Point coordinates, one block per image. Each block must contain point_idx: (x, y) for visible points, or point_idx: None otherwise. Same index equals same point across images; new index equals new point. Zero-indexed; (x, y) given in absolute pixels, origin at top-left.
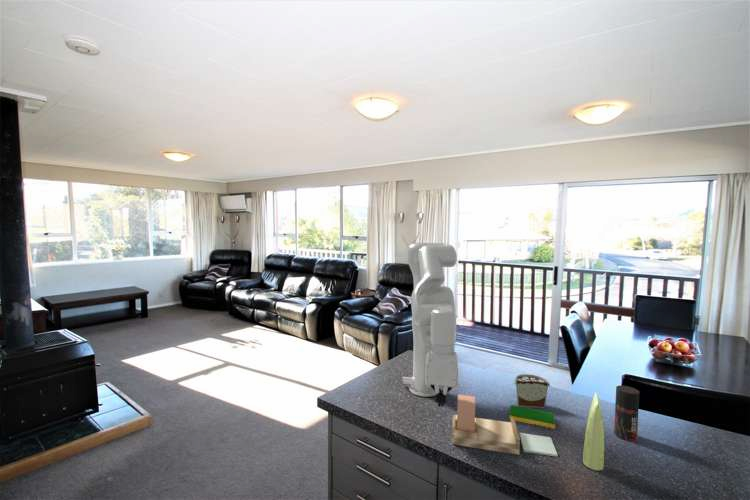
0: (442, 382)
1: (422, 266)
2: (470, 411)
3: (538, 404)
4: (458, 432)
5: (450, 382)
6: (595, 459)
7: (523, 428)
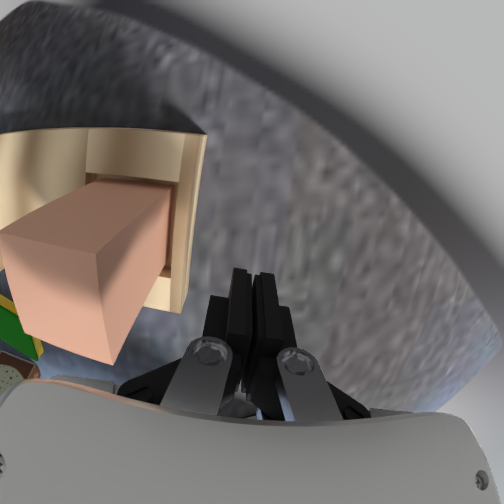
0: (246, 479)
1: None
2: (50, 213)
3: (5, 357)
4: (162, 159)
5: (71, 456)
6: None
7: (5, 272)
